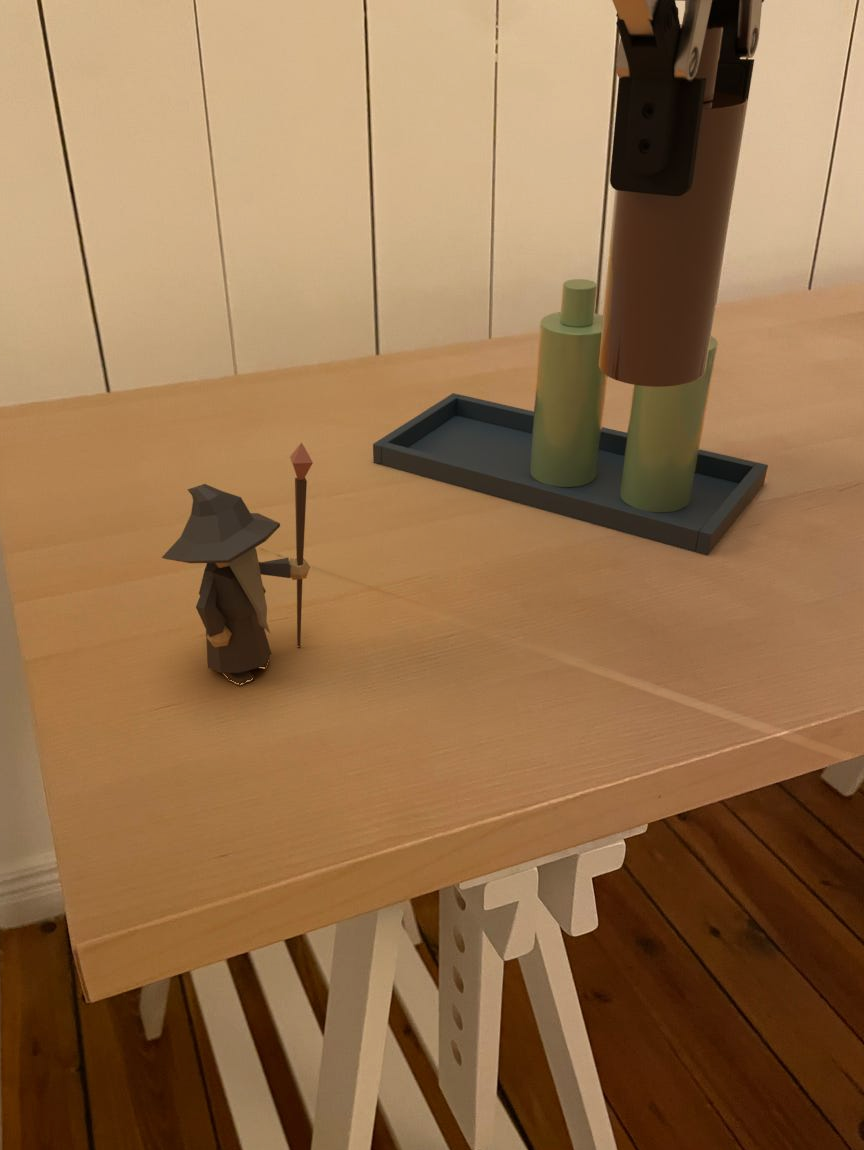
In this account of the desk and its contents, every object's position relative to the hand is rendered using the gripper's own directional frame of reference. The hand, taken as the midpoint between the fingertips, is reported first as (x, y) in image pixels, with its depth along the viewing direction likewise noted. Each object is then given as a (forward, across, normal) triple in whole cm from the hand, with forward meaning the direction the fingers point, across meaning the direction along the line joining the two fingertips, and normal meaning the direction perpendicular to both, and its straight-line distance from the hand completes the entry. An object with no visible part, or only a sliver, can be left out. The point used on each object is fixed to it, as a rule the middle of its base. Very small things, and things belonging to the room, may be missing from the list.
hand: (675, 172), depth 42 cm
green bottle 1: (+24, +18, +12) cm, 32 cm away
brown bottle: (+8, 0, 0) cm, 8 cm away
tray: (+25, +18, +12) cm, 33 cm away
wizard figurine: (+25, -11, +17) cm, 32 cm away
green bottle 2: (+24, +18, +5) cm, 31 cm away
